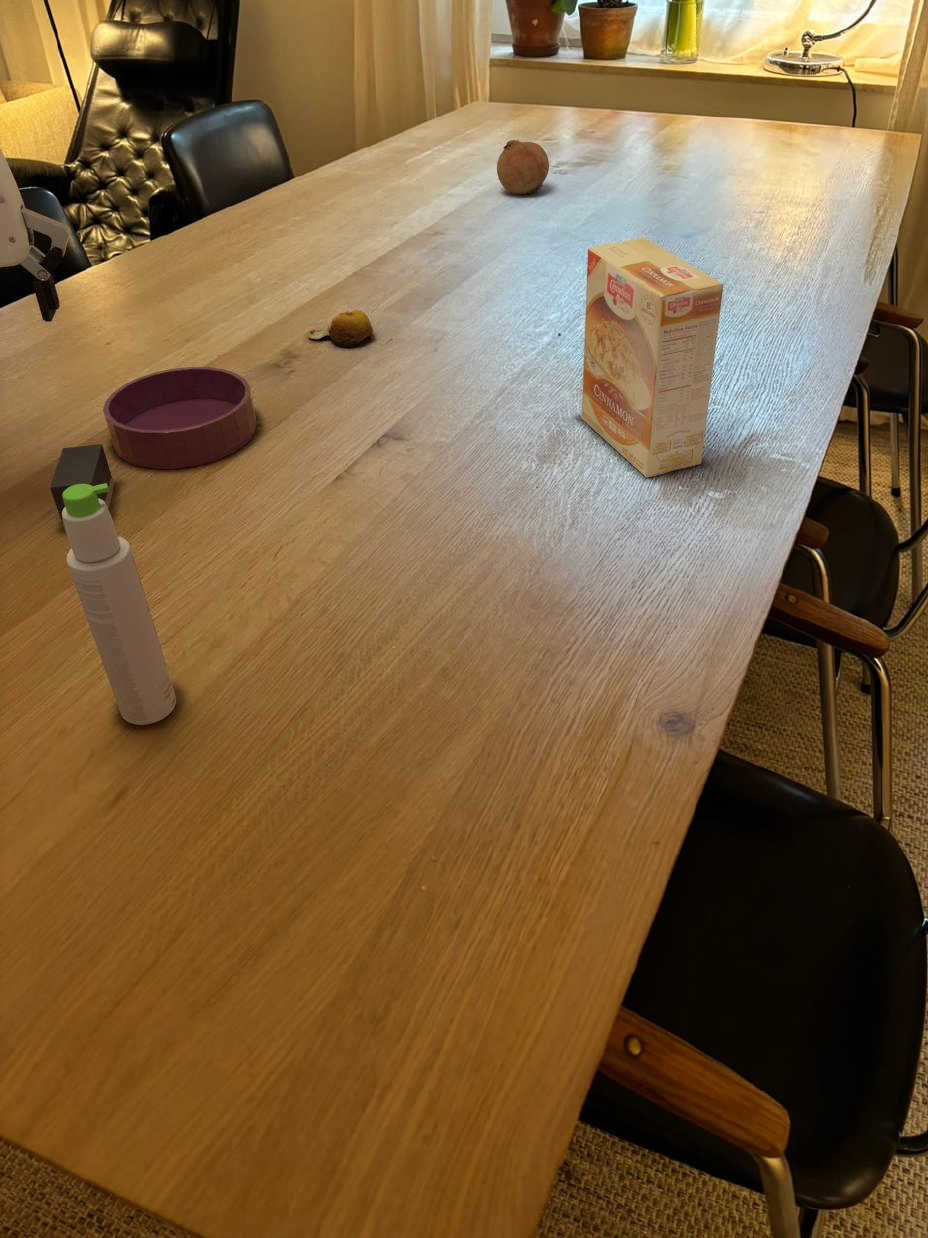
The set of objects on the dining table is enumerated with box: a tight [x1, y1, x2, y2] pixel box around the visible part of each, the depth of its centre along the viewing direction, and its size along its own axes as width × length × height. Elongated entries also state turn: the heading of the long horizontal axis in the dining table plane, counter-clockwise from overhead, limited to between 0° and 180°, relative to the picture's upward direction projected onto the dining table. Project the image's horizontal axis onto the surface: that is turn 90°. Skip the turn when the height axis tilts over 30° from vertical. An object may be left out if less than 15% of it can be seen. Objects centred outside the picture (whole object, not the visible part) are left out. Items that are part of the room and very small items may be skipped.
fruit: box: [307, 309, 374, 348], centre depth 133 cm, size 8×8×4 cm
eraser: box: [49, 443, 115, 531], centre depth 101 cm, size 4×8×5 cm, turn 9°
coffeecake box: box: [580, 237, 725, 478], centre depth 103 cm, size 15×7×20 cm, turn 22°
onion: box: [496, 139, 550, 196], centre depth 180 cm, size 10×9×10 cm
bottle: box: [62, 483, 177, 726], centre depth 73 cm, size 4×4×20 cm
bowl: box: [102, 366, 257, 470], centre depth 113 cm, size 16×16×4 cm
